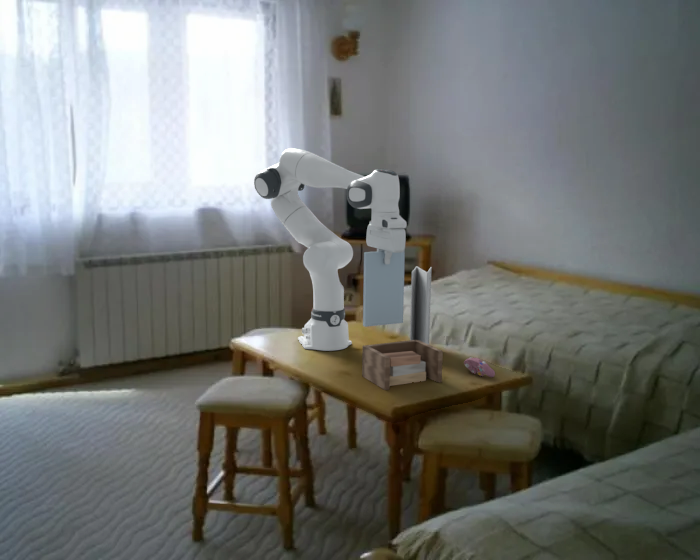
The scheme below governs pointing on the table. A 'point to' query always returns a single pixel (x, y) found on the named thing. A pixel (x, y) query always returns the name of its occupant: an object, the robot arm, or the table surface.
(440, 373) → the rack
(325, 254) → the robot arm
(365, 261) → the sheet
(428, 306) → the brochure
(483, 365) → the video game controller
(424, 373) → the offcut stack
